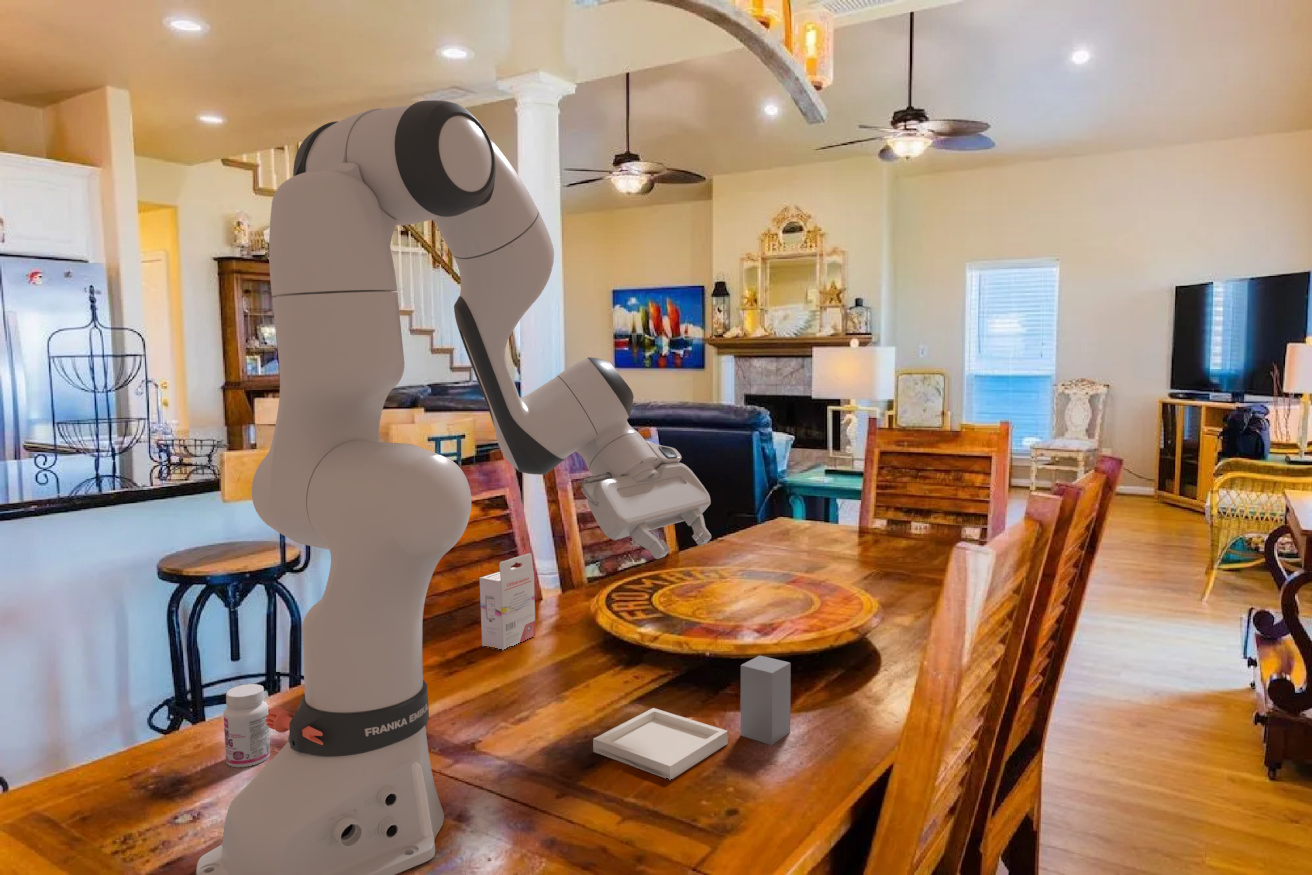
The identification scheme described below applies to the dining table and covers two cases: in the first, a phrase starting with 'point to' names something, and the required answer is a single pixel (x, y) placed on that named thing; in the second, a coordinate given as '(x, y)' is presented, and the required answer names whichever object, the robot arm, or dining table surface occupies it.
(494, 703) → the dining table surface
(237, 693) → the pill bottle
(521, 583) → the ink cartridge box
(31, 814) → the dining table surface
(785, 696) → the grey block
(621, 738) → the tray
